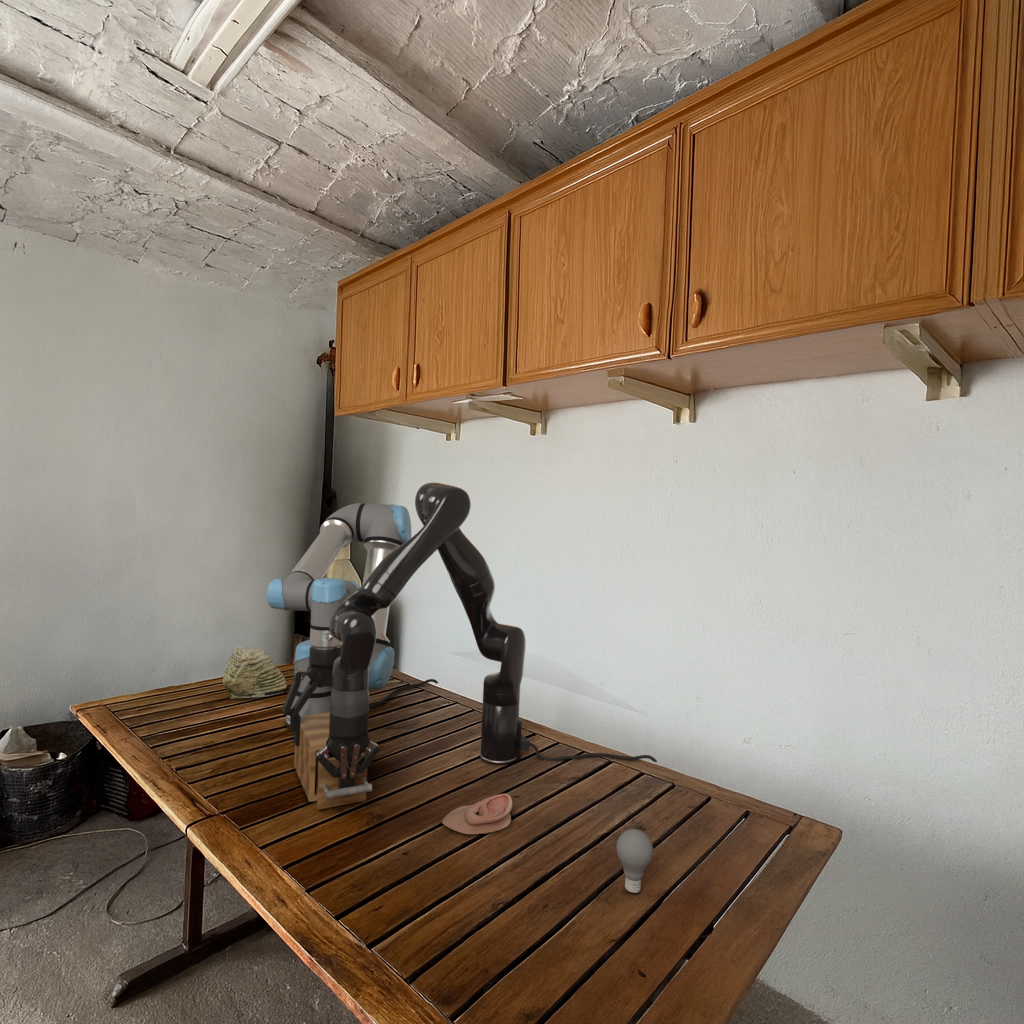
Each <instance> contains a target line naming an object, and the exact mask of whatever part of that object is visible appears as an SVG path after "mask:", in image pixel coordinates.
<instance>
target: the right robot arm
mask: <svg viewBox="0 0 1024 1024" xmlns="http://www.w3.org/2000/svg"><path fill="white" fill-rule="evenodd" d="M414 499H415V500H414V507H415V511H416V514H417V517H418V519H419V520H420V522H421V524H422V527H421V528H420V530H419V531H418V532H417V533H415V534H414V535H413V536H411V539H409V540H408V541H407V542H405V543H404V544H402V545H401V546H399V547H398V548H396V549H395V550H393V551H392V552H391V553H389V554H388V555H387V556H386V557H385V558H384V559H383V560H382V561H381V562H380V563H379V564H378V565H377V567H376V568H375V569H374V570H373V572H372V573H371V574H370V576H369V577H368V579H367V580H366V581H365V583H364V584H363V583H362V585H361V586H360V588H359V589H357V590H356V591H355V592H354V593H353V594H351V595H350V596H349V597H348V598H347V599H346V600H345V601H344V602H343V603H342V604H341V605H340V606H339V607H338V608H337V609H336V611H335V612H334V614H333V615H332V618H331V620H330V625H329V627H330V632H331V634H332V635H333V636H334V637H335V638H336V639H337V640H339V641H341V642H342V651H341V656H340V657H338V658H337V659H336V660H335V661H334V665H333V677H332V692H331V698H330V706H329V708H330V721H329V737H328V740H327V741H326V746H325V747H324V748H323V749H322V750H317V751H316V752H315V756H316V758H317V760H318V761H319V762H320V763H321V764H322V766H323V767H324V768H325V769H326V770H327V771H328V772H329V773H330V775H331V776H332V777H333V778H336V777H338V778H339V787H338V789H341V788H347V787H353V786H354V784H355V776H356V775H357V774H359V773H363V772H364V771H365V770H366V769H367V770H368V768H369V766H370V765H371V763H372V762H373V760H374V759H375V758H376V757H377V755H378V753H380V751H381V747H380V745H378V743H377V742H375V741H374V742H373V741H372V740H371V737H370V735H369V719H370V718H369V717H370V716H369V715H370V708H369V705H370V690H369V686H368V685H369V664H370V661H371V658H372V654H373V650H374V646H375V642H376V634H377V631H376V624H375V621H374V619H373V617H372V615H373V614H374V613H375V612H376V611H377V610H379V609H385V608H387V607H389V606H391V605H392V604H393V602H395V600H396V599H397V597H398V596H399V595H400V594H401V592H402V591H403V589H404V588H405V587H406V586H407V584H408V583H409V582H410V580H411V578H412V577H413V576H414V575H415V574H416V573H417V571H418V570H419V569H420V568H421V567H422V566H423V565H424V564H425V562H426V561H427V560H428V559H429V558H430V557H431V556H432V555H433V554H434V553H435V552H436V551H437V552H438V554H439V557H440V558H441V561H442V563H443V565H444V567H445V569H446V571H447V573H448V576H449V578H450V581H451V583H452V586H453V588H454V590H455V592H456V594H457V596H458V598H459V599H460V602H461V604H462V606H463V609H464V612H465V614H466V616H467V619H468V621H469V624H470V627H471V630H472V633H473V636H474V639H475V642H476V646H477V648H478V650H479V652H480V654H481V656H482V657H484V658H485V659H487V660H490V661H493V662H498V663H500V669H499V671H498V672H492V673H490V674H486V676H485V677H484V678H483V684H482V685H483V686H482V707H481V708H482V709H481V710H482V711H481V713H482V714H481V731H480V732H481V734H480V744H479V750H480V751H479V758H480V759H481V761H483V762H485V763H488V764H492V765H509V764H512V763H514V762H517V761H518V760H519V761H520V760H521V752H524V751H526V752H527V751H530V747H531V748H533V749H534V750H535V755H536V757H537V758H538V759H540V760H542V761H553V762H554V761H556V762H557V761H559V762H560V761H565V760H576V759H577V760H578V759H585V758H591V757H604V758H611V759H612V758H613V759H618V760H626V761H636V760H642V759H649V760H651V761H652V762H653V763H658V760H657V759H656V758H655V757H653V756H652V755H651V754H650V755H649V754H641V755H636V756H627V755H626V756H625V755H619V754H613V753H603V752H590V753H583V754H576V755H564V756H563V755H562V756H558V757H545V756H543V755H541V754H540V751H539V747H538V746H537V745H536V744H535V743H533V742H530V740H529V739H527V737H526V736H525V735H524V734H522V730H523V729H522V727H523V722H522V720H521V719H520V702H521V701H520V699H521V684H522V681H523V676H524V669H525V658H526V645H527V644H526V643H527V640H526V635H525V632H524V630H523V629H522V628H521V627H519V626H515V625H509V624H504V623H499V622H498V621H497V620H496V618H495V617H494V615H493V613H492V609H491V604H492V601H493V598H494V595H495V589H496V584H495V579H494V576H493V573H492V571H491V569H490V567H489V564H488V562H487V560H486V559H485V557H484V556H483V553H481V552H480V550H479V549H478V548H477V547H476V546H475V545H474V543H472V542H471V540H470V539H469V538H468V537H467V536H466V535H465V533H464V532H463V530H462V529H461V528H460V527H461V526H463V524H464V523H465V521H466V520H467V518H468V517H469V515H470V513H471V509H472V508H471V507H472V506H471V505H472V504H471V498H470V495H469V494H468V492H467V491H466V490H465V489H463V488H462V487H458V486H454V485H450V484H445V483H441V482H427V483H424V484H422V485H421V486H420V487H419V488H418V490H417V492H416V495H415V498H414ZM389 608H390V607H389ZM329 751H330V752H331V753H332V755H333V756H334V757H335V758H336V760H338V768H335V767H334V766H333V764H332V763H331V762H330V761H329V760H328V759H329V754H328V752H329ZM362 753H364V755H363V756H362V757H361V759H360V760H359V761H358V758H359V757H360V756H361V754H362ZM347 761H348V766H347ZM349 796H351V795H349ZM344 797H347V796H344Z"/></svg>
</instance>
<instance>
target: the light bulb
mask: <svg viewBox="0 0 1024 1024" xmlns="http://www.w3.org/2000/svg"><path fill="white" fill-rule="evenodd" d="M615 849H616V854H617V857H618V859H619V861H620V863H621V865H622V867H623V873H624V874H623V875H624V876H625V878H624V888H625V890H627V891H628V892H630V893H634V894H635V893H639V892H640V891H641V889H642V887H641V886H642V879H643V877H644V875H645V871H646V868H647V867H648V866H649V864H650V863H651V861H652V859H653V855H654V847H653V843H652V841H651V838H649V836H648V835H647V834H646V833H645V832H643V831H642V830H641V829H636V828H629V829H627V830H625V831H623V832H622V833H621V834H620V835H619V837H618V839H617V841H616V847H615Z"/></svg>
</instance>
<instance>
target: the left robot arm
mask: <svg viewBox="0 0 1024 1024" xmlns="http://www.w3.org/2000/svg"><path fill="white" fill-rule="evenodd" d="M411 538H412V522H411V516H410V512H409V510H408V509H407V507H406V506H404V505H399V504H393V503H391V504H381V503H361V502H359V503H358V502H357V503H351V504H349V505H348V504H347V505H346V506H344V507H341V508H339V509H338V510H335V512H332V514H329V516H328V517H327V518H326V519H325V520H324V521H323V523H322V524H321V525H320V527H319V534H318V535H317V537H316V538H315V539H314V540H313V542H312V543H311V545H310V546H309V547H308V548H307V550H306V551H305V553H304V554H303V555H302V557H301V558H300V560H299V561H298V562H297V563H296V565H295V566H294V568H293V569H292V570H291V572H289V574H288V575H287V576H286V578H283V577H280V578H275V579H272V580H271V581H270V582H269V584H268V586H267V590H266V601H267V604H268V606H269V607H270V608H271V609H275V610H284V611H297V612H298V611H300V612H310V625H309V626H310V628H309V629H310V630H309V639H307V640H304V641H302V642H300V643H298V644H297V645H296V647H295V654H294V659H293V661H294V670H293V680H292V683H291V686H290V688H289V690H288V693H287V694H286V695H287V696H286V697H285V700H284V702H283V705H282V708H281V711H282V714H283V716H285V726H286V728H287V729H289V730H290V731H291V732H293V743H294V746H295V745H296V746H299V745H300V720H301V717H300V716H305V715H313V714H322V713H330V708H329V706H330V698H331V692H332V677H333V665H334V661H335V660H336V659H337V658H338V657H340V656H341V651H342V642H341V641H339V640H337V639H336V638H335V637H334V636H333V635H332V634H331V632H330V627H329V625H330V620H331V618H332V615H333V614H334V612H335V611H336V609H337V608H338V607H339V606H340V605H341V604H342V603H343V602H344V601H345V600H346V599H347V598H348V597H349V596H350V595H351V594H353V593H354V592H355V591H356V590H357V589H359V588H360V587H361V586H360V584H358V583H357V582H356V581H353V580H344V579H342V578H338V577H325V575H326V573H327V572H328V571H329V570H330V568H331V566H332V565H333V563H335V560H336V558H337V557H338V555H340V552H342V550H343V549H344V548H346V547H348V546H349V545H350V544H351V543H353V542H356V543H357V542H358V543H359V542H360V543H363V547H364V549H365V550H366V552H367V555H366V561H365V568H364V572H363V573H364V574H363V578H362V579H363V580H362V585H363V584H364V583H365V581H366V580H367V579H368V577H369V576H370V574H371V573H372V572H373V570H374V569H375V568H376V567H377V565H378V564H379V563H380V562H381V561H382V560H383V559H384V558H385V557H386V556H387V555H388V554H389V553H391V552H392V551H393V550H395V549H396V548H398V547H399V546H401V545H402V544H404V543H405V542H407V541H408V540H409V539H411ZM390 606H391V605H390ZM390 606H389V607H387V608H385V609H379V610H377V611H376V612H375V613H374V614H373V615H372V617H373V619H374V621H375V624H376V631H377V634H376V642H375V646H374V650H373V654H372V658H371V661H370V664H369V685H368V686H369V691H370V690H375V691H376V690H377V691H378V690H382V689H383V688H384V687H385V686H386V685H387V684H388V683H389V681H390V678H391V677H392V676H391V675H392V673H393V670H394V666H395V657H396V654H395V649H394V648H393V647H392V646H390V645H391V641H390V640H389V638H388V637H387V628H388V620H389V613H390ZM428 683H435V684H437V685H438V684H439V681H438V680H436V679H434V678H429V679H425V680H424V681H420V682H418V683H414V684H409V685H405V686H400V687H398V688H396V689H394V690H392V692H390V693H389V694H387V695H386V696H385V697H384V698H383V699H382V700H380V701H377V702H375V703H371V704H370V703H369V709H371V708H375V707H379V706H381V705H383V704H384V703H385V702H386V701H387V700H388V699H390V698H391V697H393V696H394V695H395V694H396V693H399V692H400V691H404V690H407V689H411V688H416V687H420V686H423V685H426V684H428Z"/></svg>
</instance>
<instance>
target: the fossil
mask: <svg viewBox="0 0 1024 1024" xmlns="http://www.w3.org/2000/svg"><path fill="white" fill-rule="evenodd" d="M222 676H223V677H222V685H223V687H224V688H225V690H226V691H228V693H229V698H230V699H250V698H264V697H271V696H275V695H281V694H284V693H285V691H286V689H287V687H288V686H287V680H286V678H285V676H284V674H283V673H282V672H281V669H279V668H278V667H277V665H276V663H275V662H274V660H273V659H272V658H271V657H270V656H269V655H268V654H267V653H266V652H265V650H264V649H263V648H260V647H258V648H251V647H247V646H246V647H245V646H238V647H237V648H236V649H235V650H233V651H232V653H231V656H230V657H229V659H228V660H227V663H226V666H225V668H224V671H223V675H222Z"/></svg>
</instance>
